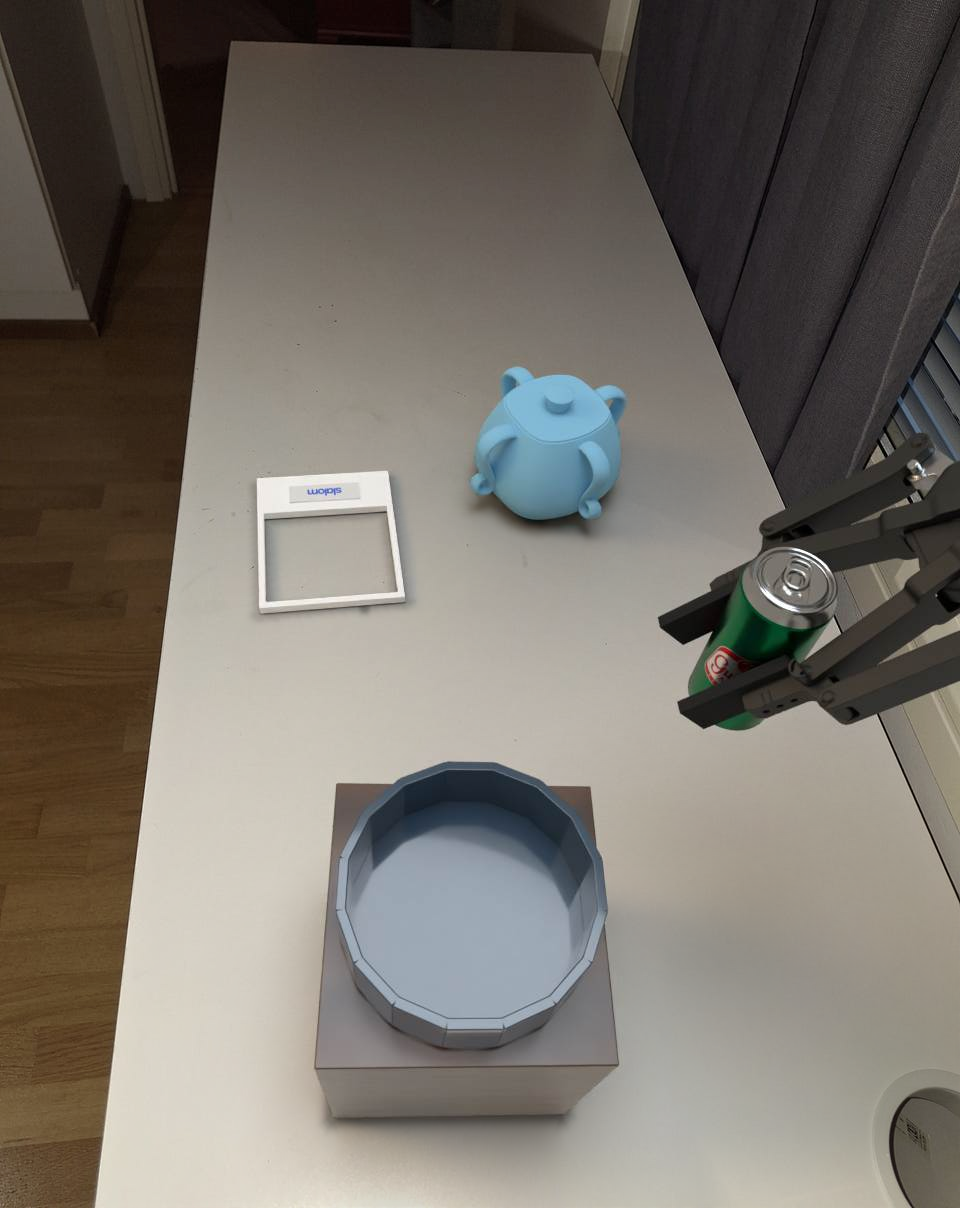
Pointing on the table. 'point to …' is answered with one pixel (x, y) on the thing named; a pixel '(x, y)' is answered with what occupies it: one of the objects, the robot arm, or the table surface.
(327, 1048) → the stand
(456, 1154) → the table surface
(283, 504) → the photo frame
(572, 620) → the table surface
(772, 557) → the soda can
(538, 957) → the bowl
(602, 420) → the decorative pot
